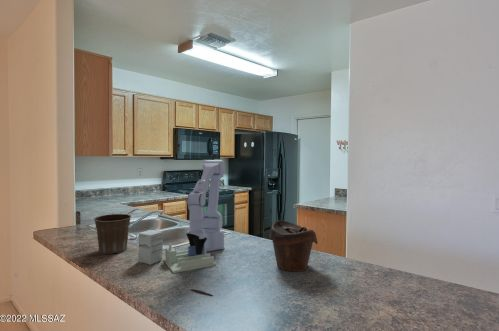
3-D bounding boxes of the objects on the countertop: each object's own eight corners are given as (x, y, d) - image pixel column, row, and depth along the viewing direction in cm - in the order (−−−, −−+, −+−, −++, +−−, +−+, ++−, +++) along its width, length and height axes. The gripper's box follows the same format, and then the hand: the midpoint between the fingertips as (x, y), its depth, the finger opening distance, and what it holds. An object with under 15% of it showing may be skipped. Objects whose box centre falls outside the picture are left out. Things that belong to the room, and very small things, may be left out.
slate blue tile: (203, 257, 128) (203, 244, 127) (204, 258, 126) (204, 245, 126) (187, 260, 124) (187, 246, 124) (188, 261, 123) (189, 247, 123)
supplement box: (137, 262, 124) (137, 232, 124) (151, 257, 130) (151, 229, 130) (150, 265, 120) (150, 235, 120) (163, 259, 127) (163, 231, 127)
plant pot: (121, 256, 131) (121, 221, 130) (86, 255, 131) (86, 220, 130) (136, 245, 147) (136, 214, 146) (105, 245, 147) (105, 213, 147)
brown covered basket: (318, 276, 110) (318, 229, 110) (266, 272, 114) (266, 227, 114) (316, 261, 128) (317, 220, 128) (271, 258, 132) (272, 218, 132)
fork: (210, 298, 93) (210, 292, 93) (173, 288, 100) (173, 282, 100) (215, 295, 95) (215, 289, 95) (178, 285, 103) (178, 279, 103)
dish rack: (202, 254, 135) (202, 236, 135) (216, 265, 121) (216, 245, 121) (163, 260, 126) (163, 241, 126) (173, 273, 112) (173, 251, 112)
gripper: (182, 218, 129) (181, 248, 129) (192, 224, 116) (192, 258, 117) (197, 216, 133) (197, 245, 133) (209, 222, 120) (208, 255, 120)
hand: (195, 251), depth 125 cm, fingers open, 7 cm apart
